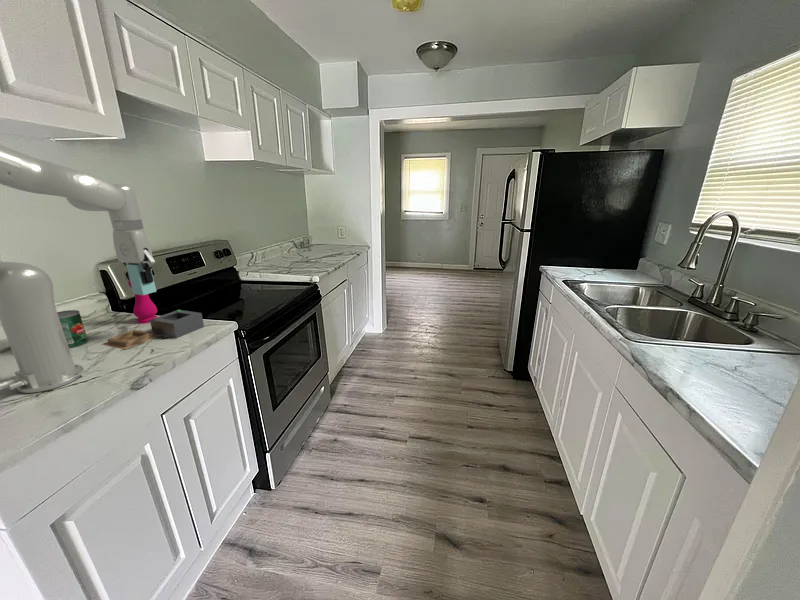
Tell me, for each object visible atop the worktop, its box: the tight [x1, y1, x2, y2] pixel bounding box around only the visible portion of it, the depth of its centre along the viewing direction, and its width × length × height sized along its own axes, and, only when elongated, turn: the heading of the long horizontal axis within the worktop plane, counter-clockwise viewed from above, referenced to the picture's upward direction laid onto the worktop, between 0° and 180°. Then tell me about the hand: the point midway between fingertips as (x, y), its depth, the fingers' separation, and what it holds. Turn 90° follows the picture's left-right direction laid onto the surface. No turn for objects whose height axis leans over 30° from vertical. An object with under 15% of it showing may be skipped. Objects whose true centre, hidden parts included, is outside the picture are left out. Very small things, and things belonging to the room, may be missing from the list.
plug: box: [125, 260, 157, 295], centre depth 107 cm, size 4×4×11 cm
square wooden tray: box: [101, 329, 159, 350], centre depth 109 cm, size 11×11×2 cm
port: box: [149, 309, 205, 339], centre depth 117 cm, size 11×11×6 cm
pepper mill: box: [127, 278, 158, 325], centre depth 123 cm, size 7×7×20 cm
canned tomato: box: [57, 309, 89, 349], centre depth 104 cm, size 8×8×11 cm
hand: (142, 281), depth 108 cm, fingers closed on plug, 4 cm apart
